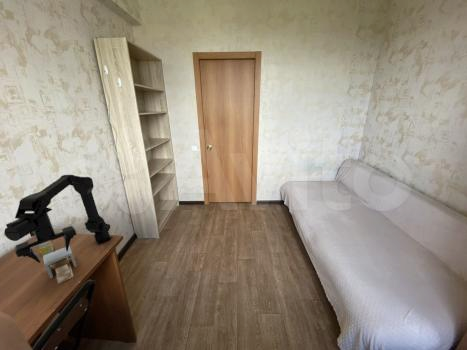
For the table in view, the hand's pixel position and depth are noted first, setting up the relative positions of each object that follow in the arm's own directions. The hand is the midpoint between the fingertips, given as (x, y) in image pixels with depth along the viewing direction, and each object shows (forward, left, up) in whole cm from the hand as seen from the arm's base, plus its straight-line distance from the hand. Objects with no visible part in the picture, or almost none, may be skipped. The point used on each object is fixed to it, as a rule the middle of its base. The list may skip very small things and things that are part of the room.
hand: (54, 256), depth 87 cm
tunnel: (-1, -8, -12) cm, 15 cm away
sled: (-1, -6, -12) cm, 13 cm away
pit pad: (-1, -17, -12) cm, 21 cm away
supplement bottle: (+3, -29, -13) cm, 32 cm away
